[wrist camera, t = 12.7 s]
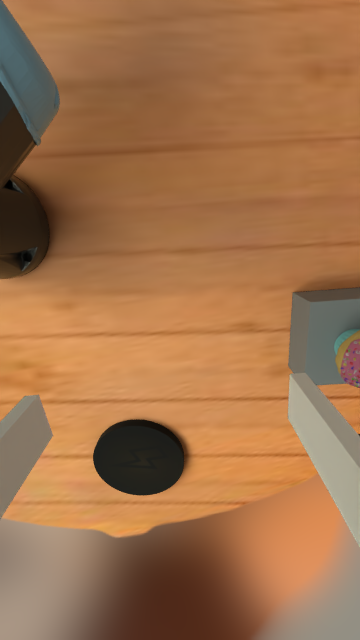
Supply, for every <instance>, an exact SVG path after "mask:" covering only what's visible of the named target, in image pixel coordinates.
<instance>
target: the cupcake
mask: <svg viewBox="0 0 360 640" xmlns="http://www.w3.org/2000/svg"><path fill="white" fill-rule="evenodd" d="M334 351H335V353H336V358H335V362H336V365H337V368H338V372H339V373H340V375H341V378H342V379H343V380H344V381H345V382H346V383H348V384H349V385H352V386H355V387H358V388H360V329H351V330H347V331H345V332H343V333H342V334H341V335H340V336H339V337H338V338H337V339H336V341H335V344H334Z"/></svg>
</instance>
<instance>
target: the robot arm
mask: <svg viewBox="0 0 360 640" xmlns="http://www.w3.org/2000/svg"><path fill="white" fill-rule="evenodd" d="M59 105H60V98H59V92H58V88H57V85H56V83H55V81H54V79H53V77H52V75H51V73H50V72H49V70H48V69H47V67H46V65H45V64H44V62H43V60H42V59H41V57H40V56H39V54H38V53H37V51H36V50H35V48H34V47H33V45H32V44H31V42H30V41H29V39H28V38H27V36H26V35H25V33H24V32H23V30H22V29H21V27H20V26H19V24H18V23H17V21H16V20H15V19H14V17H13V16H12V14H11V13H10V11H9V10H8V8H7V7H6V5H5V4H4V3H3V1H2V0H0V279H8V278H13V277H17V276H21V275H24V274H27V273H29V272H30V271H32V270H33V269H35V268H36V267H37V266H38V265H39V264H40V262H41V261H42V260H43V258H44V256H45V254H46V251H47V248H48V244H49V226H48V221H47V217H46V214H45V212H44V209H43V207H42V205H41V203H40V201H39V200H38V198H37V197H36V195H35V194H34V193H33V192H32V190H31V189H30V188H29V187H28V186H27V185H26V184H25V183H23V182H22V181H21V180H20V179H18V178H17V177H15V176H14V175H13V174H14V173H15V171H16V170H17V169H18V168H19V166H20V165H21V164H22V162H23V161H24V160H25V158H26V157H27V156H28V155H29V153H30V152H31V151H32V149H33V148H34V147H35V146H36V145H37V146H39V145H40V143H41V139H40V138H41V136H42V135H43V133H44V132H45V130H46V129H47V127H48V126H49V124H50V123H51V121H52V120H53V118H54V117H55V115H56V114H57V112H58V109H59ZM288 419H289V421H290V423H291V424H292V426H293V428H294V430H295V432H296V433H297V435H298V437H299V439H300V441H301V442H302V444H303V446H304V448H305V450H306V451H307V453H308V455H309V457H310V459H311V460H312V462H313V464H314V466H315V468H316V469H317V471H318V473H319V475H320V477H321V478H322V480H323V482H324V484H325V486H326V487H327V489H328V491H329V493H330V495H331V496H332V498H333V500H334V502H335V504H336V505H337V507H338V509H339V510H340V513H341V515H342V516H343V518H344V520H345V522H346V524H347V525H348V527H349V529H350V531H351V532H352V534H353V536H354V538H355V540H356V542H357V543H358V545H359V547H360V434H357V433H356V432H355V430H354V429H353V428H352V427H351V426H350V424H349V423H348V422H347V421H346V420H345V419H344V417H343V416H342V415H341V414H340V413H339V412H338V410H337V409H336V408H335V407H334V406H333V405H332V403H331V402H330V401H329V400H328V399H327V397H326V396H325V395H324V394H323V393H322V392H321V390H320V389H319V388H318V387H317V386H316V385H315V383H314V382H313V381H312V380H311V379H310V378H309V376H308V375H307V374H306V373H295V374H290V383H289V404H288ZM52 436H53V434H52V431H51V428H50V426H49V423H48V420H47V417H46V414H45V411H44V408H43V406H42V403H41V400H40V397H39V395H32V396H24V397H23V399H22V400H21V401H20V402H19V403H18V404H17V405H16V406H15V407H14V408H13V409H12V410H11V411H10V412H9V413H8V414H7V415H6V416H5V417H4V419H3V420H2V421H1V422H0V519H1V517H2V516H3V514H4V513H5V511H6V509H7V508H8V506H9V505H10V503H11V501H12V500H13V498H14V497H15V495H16V493H17V492H18V490H19V489H20V487H21V486H22V484H23V482H24V481H25V479H26V478H27V476H28V474H29V473H30V471H31V470H32V468H33V467H34V465H35V463H36V462H37V460H38V459H39V457H40V455H41V454H42V452H43V451H44V449H45V447H46V446H47V444H48V443H49V441H50V440H51V438H52Z"/></svg>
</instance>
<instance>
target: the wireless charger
mask: <svg viewBox="0 0 360 640" xmlns="http://www.w3.org/2000/svg"><path fill="white" fill-rule="evenodd" d="M93 461H94V466H95V469H96V471H97V473H98V474H99V476H100V477H101V478H102V479H103V480H104V481H105V482H106V483H107V484H108V485H110V486H111V487H113V488H115V489H117V490H119V491H121V492H124V493H128V494H132V495H152V494H157V493H160V492H162V491H165V490H167V489H168V488H170V487H171V486H173V485H174V484H175V483H176V482H177V481H178V479H179V478H180V476H181V474H182V472H183V467H184V452H183V448H182V445H181V443H180V441H179V440H178V438H177V437H176V436H175V435H174V434H173V433H172V432H171V431H170V430H168V429H167V428H165V427H164V426H162V425H160V424H157V423H154V422H151V421H147V420H127V421H122V422H119V423H117V424H114V425H112V426H111V427H109V428H108V429H107V430H106V431H104V433H103V434H102V435H101V436H100V438H99V440H98V442H97V445H96V447H95V450H94V454H93Z"/></svg>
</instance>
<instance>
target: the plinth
mask: <svg viewBox="0 0 360 640" xmlns="http://www.w3.org/2000/svg"><path fill="white" fill-rule="evenodd" d="M351 329H360V287H359V288H346V289H333V290H319V291H306V292H293V297H292V313H291V330H290V347H289V363H288V366H289V368H290V369H291V370H292V372H293V373H294V374H295V373H306V374H307V375H308V376H309V378H310V379H311V380H312V381H313V382H314V383H315V385H328V384H346V382H345V381H344V380H343V379H342V378H341V375H340V373H339V372H338V368H337V365H336V362H335V358H336V353H335V351H334V344H335V341H336V339H337V338H338V337H339V336H340V335H341V334H342V333H343V332H345V331H347V330H351Z"/></svg>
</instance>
